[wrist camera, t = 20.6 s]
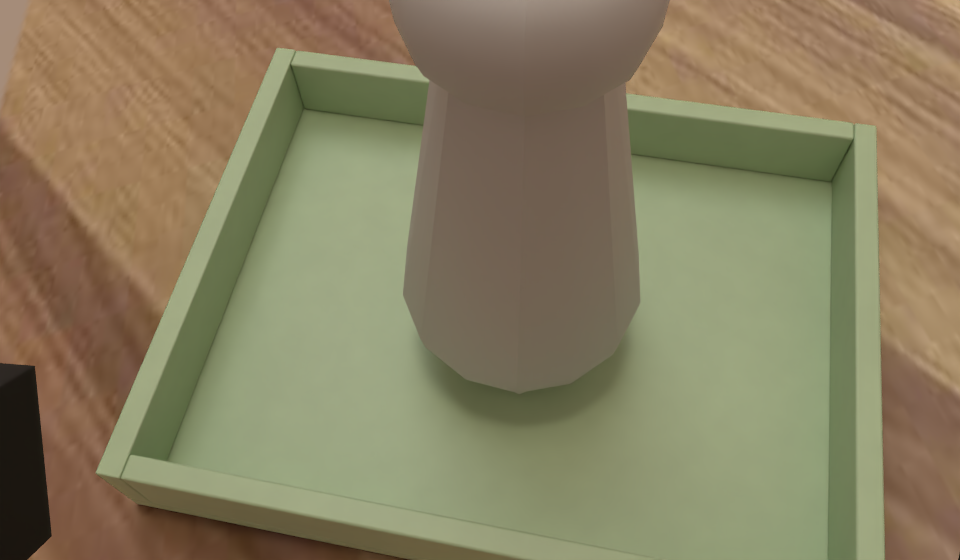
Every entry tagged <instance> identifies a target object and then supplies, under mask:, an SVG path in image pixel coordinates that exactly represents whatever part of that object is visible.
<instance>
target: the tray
mask: <svg viewBox="0 0 960 560" xmlns="http://www.w3.org/2000/svg"><path fill="white" fill-rule="evenodd" d="M428 87H429V79H427V78H426V77H424V76H423V75H422V73H421V72H420V70H419V69H418V67H417V66H412V65H404V64H396V63H388V62H381V61H373V60H365V59H358V58H350V57H342V56H335V55H327V54H319V53H312V52H304V51H295V50H291V49H283V48H277V49H276V51H275V53H274V56H273V58H272V60H271V63H270V65H269V68H268V70H267V72H266V75H265V77H264V79H263V82H262V84H261V86H260V89H259V91H258V93H257V96H256V98H255V100H254V103H253V105H252V107H251V110H250V112H249V114H248V117H247V119H246V121H245V124H244V126H243V128H242V131H241V133H240V135H239V138H238V140H237V143H236V145H235V147H234V150H233V152H232V154H231V157H230V159H229V161H228V164H227V166H226V168H225V171H224V173H223V175H222V178H221V180H220V182H219V185H218V187H217V189H216V192H215V194H214V196H213V199H212V201H211V203H210V206H209V208H208V211H207V213H206V215H205V218H204V220H203V222H202V225H201V227H200V229H199V232H198V234H197V236H196V239H195V241H194V243H193V246H192V248H191V250H190V253H189V255H188V257H187V260H186V262H185V264H184V267H183V269H182V271H181V274H180V276H179V278H178V281H177V283H176V286H175V288H174V290H173V293H172V295H171V297H170V300H169V302H168V304H167V307H166V309H165V311H164V314H163V316H162V318H161V321H160V323H159V325H158V328H157V330H156V332H155V335H154V337H153V339H152V342H151V344H150V346H149V349H148V351H147V353H146V356H145V358H144V361H143V363H142V365H141V368H140V370H139V372H138V375H137V377H136V379H135V382H134V384H133V386H132V389H131V391H130V393H129V396H128V398H127V400H126V403H125V405H124V407H123V410H122V412H121V414H120V417H119V419H118V421H117V424H116V426H115V428H114V431H113V433H112V436H111V438H110V440H109V443H108V445H107V447H106V450H105V452H104V454H103V457H102V459H101V461H100V464H99V466H98V468H97V471H96V474H97V475H98V476H100V477H101V478H102V479H104V480H105V481H107V482H108V483H109V484H111V485H112V486H113V487H115V488H116V489H117V490H119V491H120V492H121V493H123V494H124V495H126V496H127V497H128V498H130V499H131V500H133V501H134V502H135V503H137V504H140V505H145V506H150V507H155V508H160V509H165V510H170V511H175V512H180V513H184V514H189V515H194V516H199V517H204V518H209V519H214V520H219V521H224V522H229V523H233V524H238V525H243V526H248V527H253V528H258V529H263V530H268V531H273V532H277V533H282V534H287V535H292V536H297V537H302V538H307V539H312V540H317V541H321V542H326V543H331V544H336V545H341V546H346V547H351V548H356V549H361V550H366V551H370V552H375V553H380V554H385V555H390V556H395V557H400V558H405V559H410V560H885V534H884V484H883V434H882V384H881V334H880V284H879V234H878V184H877V134H876V126H873V125H866V124H858V123H856V124H854V125H853V123H850V122H843V121H835V120H827V119H819V118H812V117H804V116H796V115H789V114H781V113H773V112H766V111H758V110H750V109H742V108H735V107H727V106H719V105H712V104H704V103H696V102H689V101H681V100H673V99H666V98H658V97H650V96H642V95H635V94H627V93H626V98H627V110H628V123H629V136H630V149H631V162H632V174H633V187H634V200H635V213H636V225H637V238H638V251H639V274H640V305H639V307H638V308H637V310H636V312H635V314H634V316H633V318H632V320H631V322H630V324H629V326H628V328H627V330H626V332H625V334H624V336H623V337H622V339H621V341H620V343H619V345H618V347H617V349H616V350H615V352H614V354H613V355H612V356H610V357H609V358H607V359H606V360H604V361H603V362H602V363H600V364H599V365H597V366H596V367H594V368H593V369H592V370H590V371H589V372H587V373H586V374H584V375H583V376H581V377H580V378H579V379H577V380H576V381H574V382H573V383H571V384H567V385H561V386H555V387H549V388H544V389H538V390H532V391H527V392H524V393H522V394H517V393H515V392H511V391H507V390H504V389H500V388H496V387H492V386H488V385H484V384H480V383H477V382H473V381H469V380H466V379H464V378H463V377H462V376H461V375H459V374H458V373H457V372H456V371H454V370H453V369H452V368H451V367H449V366H448V365H447V364H446V363H444V362H443V361H442V360H441V359H439V358H438V357H437V356H436V355H434V354H433V353H432V352H431V351H429V350H428V349H427V348H426V347H425V346H424V344H423V342H422V341H421V339H420V337H419V334H418V332H417V329H416V327H415V324H414V322H413V319H412V317H411V314H410V312H409V309H408V307H407V304H406V302H405V299H404V297H403V287H404V275H405V264H406V253H407V244H408V236H409V229H410V221H411V214H412V207H413V199H414V192H415V184H416V177H417V169H418V162H419V154H420V147H421V139H422V132H423V125H424V117H425V110H426V102H427V95H428Z"/></svg>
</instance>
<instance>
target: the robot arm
mask: <svg viewBox="0 0 960 560" xmlns="http://www.w3.org/2000/svg"><path fill="white" fill-rule="evenodd" d="M51 536H52V535H51V525H50V515H49V505H48V495H47V485H46V475H45V464H44V454H43V444H42V434H41V424H40V414H39V404H38V394H37V384H36V374H35V366H29V365H16V364H2V363H0V560H27V559H28V558H29V557H30V556H31V555H32V554H34V553H35V552H36V551H37V550H38V549H39V548H40V547H41V546H42V545H43V544H44V543H45V542H46V541H47V540H48V539H49V538H50V537H51ZM958 560H960V554H959V559H958Z"/></svg>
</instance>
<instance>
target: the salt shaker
mask: <svg viewBox="0 0 960 560" xmlns="http://www.w3.org/2000/svg"><path fill="white" fill-rule="evenodd" d="M389 2H390V6H391V10H392V14H393V19H394V22H395V24H396V26H397V28H398V30H399V33H400V35H401V37H402V39H403V41H404V43H405V45H406V47H407V49H408V51H409V53H410V55H411V57H412V59H413V61H414V63H415V65H416V66H417V67H418V69H419V70H420V72H421V73H422V75H423V76H424V77H426V78H427V79H429V87H428V95H427V102H426V110H425V117H424V125H423V132H422V139H421V147H420V154H419V162H418V169H417V177H416V184H415V192H414V199H413V207H412V214H411V221H410V229H409V236H408V244H407V253H406V264H405V275H404V287H403V297H404V299H405V302H406V304H407V307H408V309H409V312H410V314H411V317H412V319H413V322H414V324H415V327H416V329H417V332H418V334H419V337H420V339H421V341H422V342H423V344H424V346H425V347H426V348H427V349H428V350H429V351H431V352H432V353H433V354H434V355H436V356H437V357H438V358H439V359H441V360H442V361H443V362H444V363H446V364H447V365H448V366H449V367H451V368H452V369H453V370H454V371H456V372H457V373H458V374H459V375H461V376H462V377H463V378H464V379H466V380H469V381H473V382H477V383H480V384H484V385H488V386H492V387H496V388H500V389H504V390H507V391H511V392H515V393H517V394H522V393H524V392H527V391H532V390H538V389H544V388H549V387H555V386H561V385H567V384H571V383H573V382H574V381H576V380H577V379H579V378H580V377H581V376H583V375H584V374H586V373H587V372H589V371H590V370H592V369H593V368H594V367H596V366H597V365H599V364H600V363H602V362H603V361H604V360H606V359H607V358H609V357H610V356H612V355H613V354H614V352H615V350H616V349H617V347H618V345H619V343H620V341H621V339H622V337H623V336H624V334H625V332H626V330H627V328H628V326H629V324H630V322H631V320H632V318H633V316H634V314H635V312H636V310H637V308H638V307H639V305H640V274H639V251H638V238H637V225H636V213H635V200H634V187H633V174H632V162H631V149H630V136H629V123H628V110H627V98H626V85H625V82H627V81H629V80H630V79H631V77H632V76H633V75H634V73H635V72H636V70H637V69H638V67H639V65H640V64H641V62H642V60H643V59H644V57H645V55H646V54H647V52H648V50H649V49H650V47H651V45H652V43H653V42H654V40H655V38H656V37H657V35H658V33H659V32H660V30H661V28H662V26H663V23H664V19H665V15H666V12H667V8H668V4H669V0H389Z"/></svg>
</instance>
